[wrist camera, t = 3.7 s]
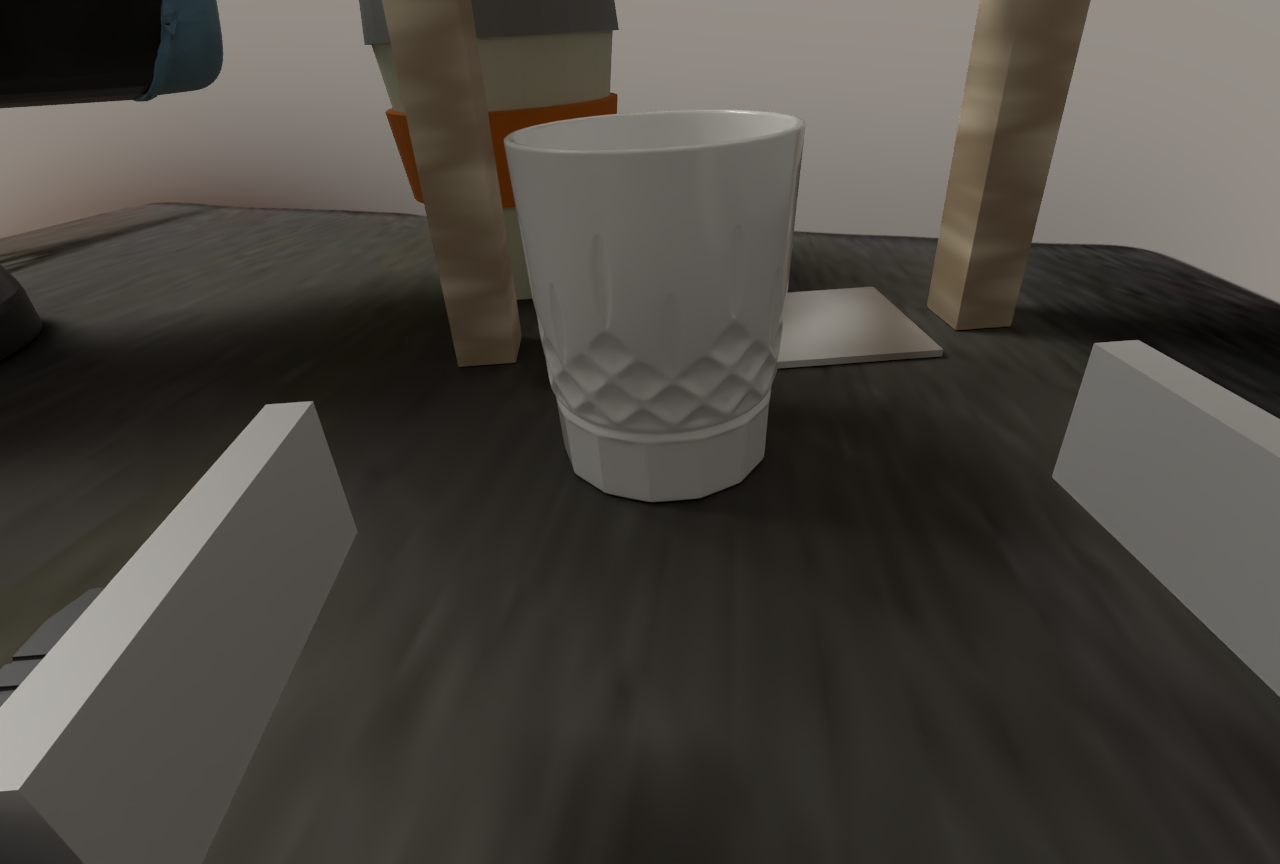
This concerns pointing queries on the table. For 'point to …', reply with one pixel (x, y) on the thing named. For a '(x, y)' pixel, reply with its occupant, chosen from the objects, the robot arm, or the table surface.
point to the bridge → (812, 320)
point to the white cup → (660, 287)
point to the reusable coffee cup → (518, 80)
